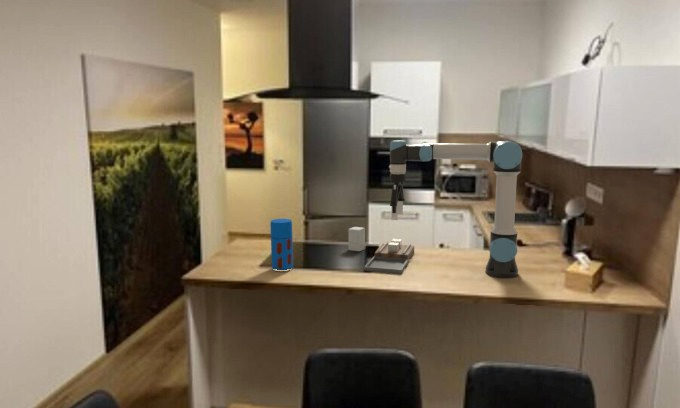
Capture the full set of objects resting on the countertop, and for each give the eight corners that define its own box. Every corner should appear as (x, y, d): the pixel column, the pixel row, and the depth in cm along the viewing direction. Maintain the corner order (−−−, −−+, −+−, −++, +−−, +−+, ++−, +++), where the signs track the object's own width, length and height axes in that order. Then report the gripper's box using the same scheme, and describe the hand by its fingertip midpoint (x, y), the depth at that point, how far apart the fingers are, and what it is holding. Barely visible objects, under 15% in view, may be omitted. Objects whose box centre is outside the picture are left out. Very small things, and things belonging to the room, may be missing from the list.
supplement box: (365, 248, 292) (365, 227, 290) (359, 251, 286) (359, 230, 284) (354, 247, 296) (354, 226, 294) (348, 250, 290) (348, 228, 288)
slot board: (414, 252, 283) (414, 244, 282) (407, 262, 264) (408, 253, 263) (382, 250, 288) (383, 241, 287) (374, 259, 270) (374, 250, 269)
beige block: (398, 250, 273) (399, 242, 273) (397, 252, 269) (397, 245, 268) (389, 249, 275) (390, 242, 274) (388, 251, 270) (388, 244, 269)
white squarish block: (401, 246, 281) (401, 239, 280) (400, 248, 276) (400, 241, 276) (392, 245, 282) (393, 238, 282) (391, 248, 278) (391, 241, 277)
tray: (408, 262, 264) (408, 259, 263) (401, 273, 245) (401, 270, 244) (373, 259, 269) (373, 256, 269) (363, 270, 250) (363, 266, 250)
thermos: (297, 268, 255) (296, 220, 251) (281, 273, 247) (280, 223, 243) (283, 264, 262) (282, 217, 258) (267, 269, 254) (265, 220, 250)
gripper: (395, 170, 251) (394, 211, 255) (384, 175, 228) (383, 221, 231) (410, 170, 249) (409, 212, 253) (400, 176, 225) (400, 222, 229)
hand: (397, 217), depth 242 cm, fingers open, 13 cm apart
